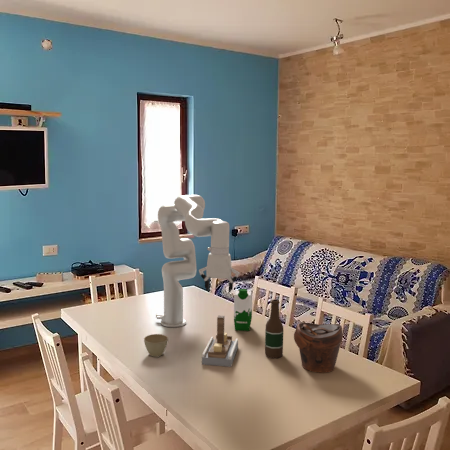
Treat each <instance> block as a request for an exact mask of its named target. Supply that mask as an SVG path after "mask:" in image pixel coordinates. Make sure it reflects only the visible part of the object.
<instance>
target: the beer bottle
mask: <svg viewBox="0 0 450 450" xmlns="http://www.w3.org/2000/svg"><path fill="white" fill-rule="evenodd" d="M270 305H271V307H270V315H269V318H268V320H267V321H266V324H265V331H264V333H265V334H264V337H265V338H264V353H265V357H268V358H270V359H280V358H281V357H283V355H284V354H283V353H284V325H283V322H282V320H281V317H280V300H279V299H272V300H271V301H270Z"/></svg>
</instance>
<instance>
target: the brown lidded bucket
mask: <svg viewBox="0 0 450 450" xmlns="http://www.w3.org/2000/svg"><path fill="white" fill-rule="evenodd" d="M343 336H344V334H343V326H342V325H341V324H340V323H327V324H324V323H323V324H322V323H321V324H318V323H311V322H300V323H298V324H297V325H296V328H295V331H294V333H293V340H294V342H295V344H296V346H297V347H298V350H299V356H300V362H301V366H302V367H303V368H304V369H305V370H307V371H310V372H314V373H323V374H324V373H330V372H332V371H334V370H335V368H336V363H337V359H338V356H339V352H340V349H341V344H342V342H343Z"/></svg>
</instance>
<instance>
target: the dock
mask: <svg viewBox="0 0 450 450" xmlns="http://www.w3.org/2000/svg"><path fill="white" fill-rule="evenodd" d="M215 339H216V338H214V336H211V337H210V339H208V342H207V344H206V347H205V348H204V350H203V352H202V353H201V365H205V366H218V367H219V366H220V367H229V368H230V367H232V366H233V363H234V360H235V357H236V354H237V352H238V349H239V339H238V338H235V340H232V342H231V345H230V347H229V350H228V352H227V355H226V357H225V358H214V357H208V351H210V349H211V347H212V345H213V343H214V341H215Z"/></svg>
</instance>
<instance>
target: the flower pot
mask: <svg viewBox="0 0 450 450" xmlns="http://www.w3.org/2000/svg"><path fill="white" fill-rule="evenodd" d="M168 340H169V338H168V336H167V335H165V334H160V333H154V334H152V333H151V334H148V335H146V336H145V337H144V338H143V342H144V347H145V348H146V349H145V350H146V352H147V353H148V354H149V356H150V357H153V358H158V357H161V356H162V355H163V354H164V352H165V350H166V348H167V345H168Z"/></svg>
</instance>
